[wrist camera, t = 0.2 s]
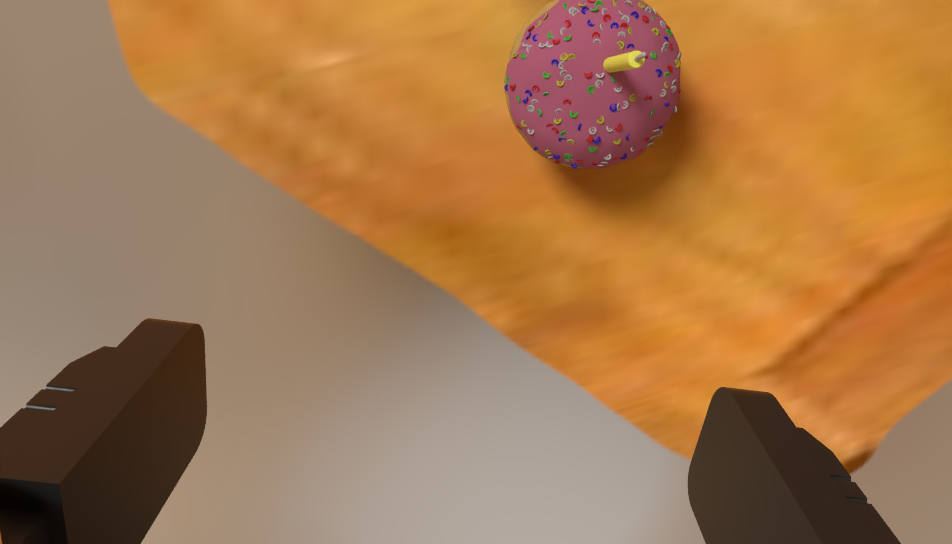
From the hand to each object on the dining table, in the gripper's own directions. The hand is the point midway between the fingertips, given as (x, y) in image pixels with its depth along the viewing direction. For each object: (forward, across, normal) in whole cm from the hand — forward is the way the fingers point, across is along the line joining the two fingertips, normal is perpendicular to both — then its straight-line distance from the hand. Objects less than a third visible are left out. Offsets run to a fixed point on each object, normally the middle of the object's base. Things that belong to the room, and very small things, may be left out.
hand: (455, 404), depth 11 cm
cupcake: (+29, -6, -2) cm, 30 cm away
